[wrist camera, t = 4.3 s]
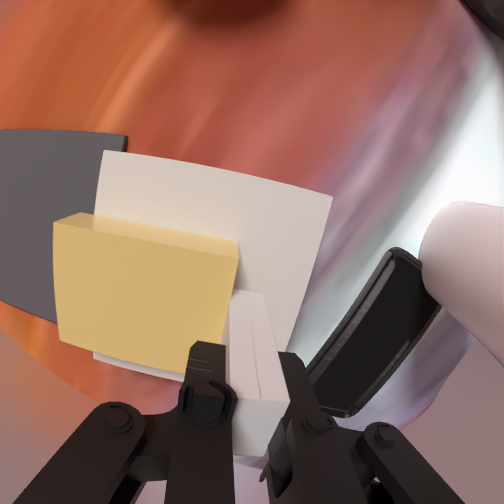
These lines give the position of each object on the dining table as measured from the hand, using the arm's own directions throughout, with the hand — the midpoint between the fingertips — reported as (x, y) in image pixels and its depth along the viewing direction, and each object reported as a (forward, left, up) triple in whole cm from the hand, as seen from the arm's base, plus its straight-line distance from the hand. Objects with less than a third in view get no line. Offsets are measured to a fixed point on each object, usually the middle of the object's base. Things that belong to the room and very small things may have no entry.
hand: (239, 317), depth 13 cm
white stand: (+2, 0, -5) cm, 6 cm away
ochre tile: (+5, 0, -1) cm, 5 cm away
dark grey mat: (+14, 0, -5) cm, 15 cm away
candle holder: (-17, -5, -6) cm, 18 cm away
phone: (-12, +4, -6) cm, 14 cm away
